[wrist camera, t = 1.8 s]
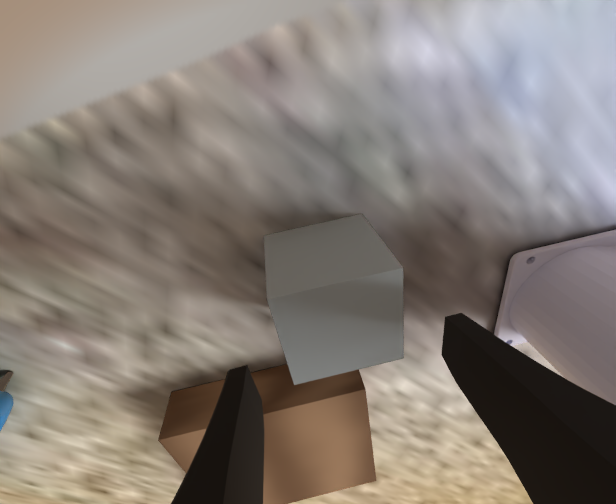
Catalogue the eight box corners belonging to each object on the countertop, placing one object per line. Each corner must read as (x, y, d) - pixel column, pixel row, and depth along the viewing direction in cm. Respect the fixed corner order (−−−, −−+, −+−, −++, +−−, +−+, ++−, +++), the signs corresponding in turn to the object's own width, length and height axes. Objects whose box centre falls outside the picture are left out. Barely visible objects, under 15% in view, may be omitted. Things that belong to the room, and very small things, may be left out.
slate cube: (361, 213, 15) (403, 267, 11) (368, 289, 18) (403, 358, 13) (263, 235, 15) (266, 299, 11) (284, 309, 17) (294, 385, 13)
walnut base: (351, 348, 20) (365, 389, 17) (364, 440, 26) (376, 480, 23) (171, 392, 19) (158, 440, 17) (228, 475, 26) (225, 519, 23)
